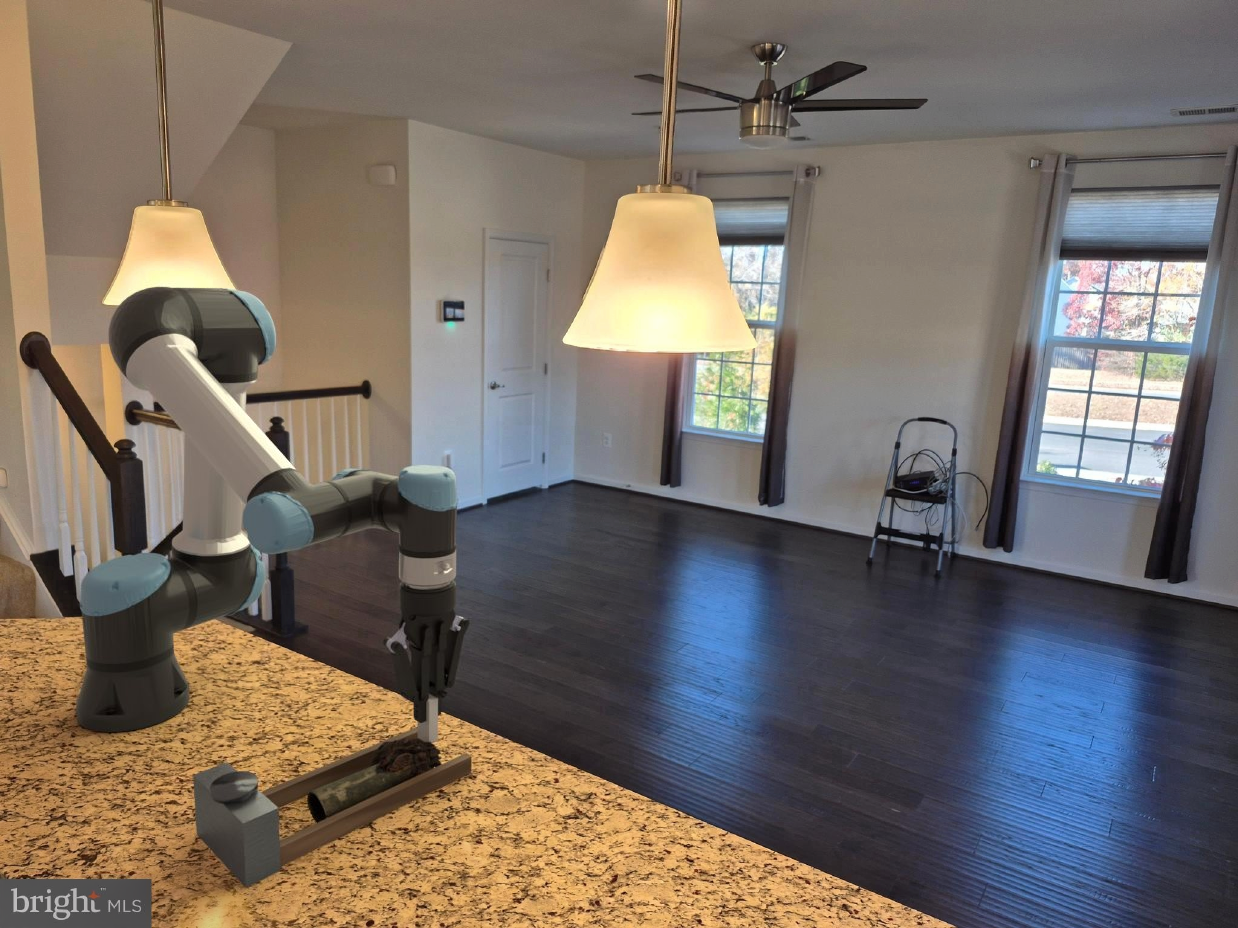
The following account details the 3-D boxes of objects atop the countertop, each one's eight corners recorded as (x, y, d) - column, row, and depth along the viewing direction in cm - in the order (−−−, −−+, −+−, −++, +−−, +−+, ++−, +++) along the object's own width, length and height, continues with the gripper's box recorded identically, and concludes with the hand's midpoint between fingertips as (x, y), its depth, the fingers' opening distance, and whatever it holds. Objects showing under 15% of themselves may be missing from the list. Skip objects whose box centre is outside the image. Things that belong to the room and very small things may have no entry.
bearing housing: (192, 836, 100) (188, 768, 98) (234, 818, 104) (230, 752, 102) (241, 889, 92) (238, 817, 90) (284, 868, 95) (282, 797, 94)
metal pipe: (325, 834, 102) (324, 793, 101) (300, 810, 106) (298, 770, 105) (446, 778, 114) (446, 740, 113) (419, 759, 119) (418, 722, 118)
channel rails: (232, 822, 103) (231, 804, 102) (421, 740, 124) (421, 724, 123) (278, 867, 95) (277, 848, 95) (471, 772, 116) (471, 756, 116)
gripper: (403, 599, 105) (404, 767, 110) (483, 576, 115) (480, 732, 120) (370, 584, 110) (372, 746, 115) (449, 563, 120) (448, 713, 124)
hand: (427, 738), depth 117 cm, fingers closed
